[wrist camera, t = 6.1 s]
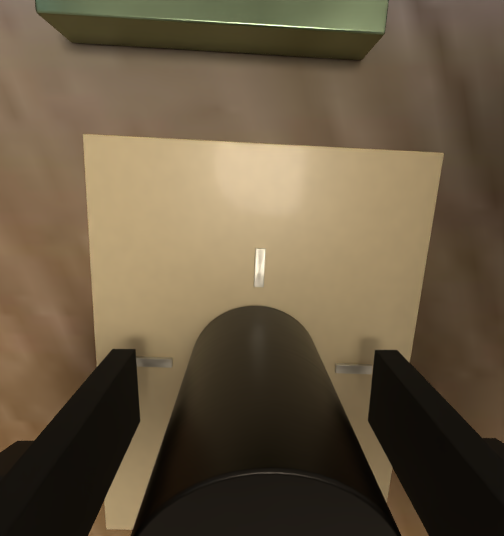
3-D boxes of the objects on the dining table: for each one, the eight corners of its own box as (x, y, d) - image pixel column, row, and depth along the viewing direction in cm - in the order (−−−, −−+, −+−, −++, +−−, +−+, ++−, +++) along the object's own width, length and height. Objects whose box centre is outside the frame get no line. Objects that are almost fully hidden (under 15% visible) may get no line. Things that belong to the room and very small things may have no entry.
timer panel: (362, 486, 17) (383, 538, 15) (125, 481, 17) (104, 533, 14) (409, 159, 14) (447, 151, 11) (111, 144, 13) (79, 132, 11)
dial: (323, 307, 12) (447, 492, 5) (311, 421, 13) (398, 723, 6) (191, 302, 12) (103, 484, 5) (190, 418, 13) (116, 723, 6)
